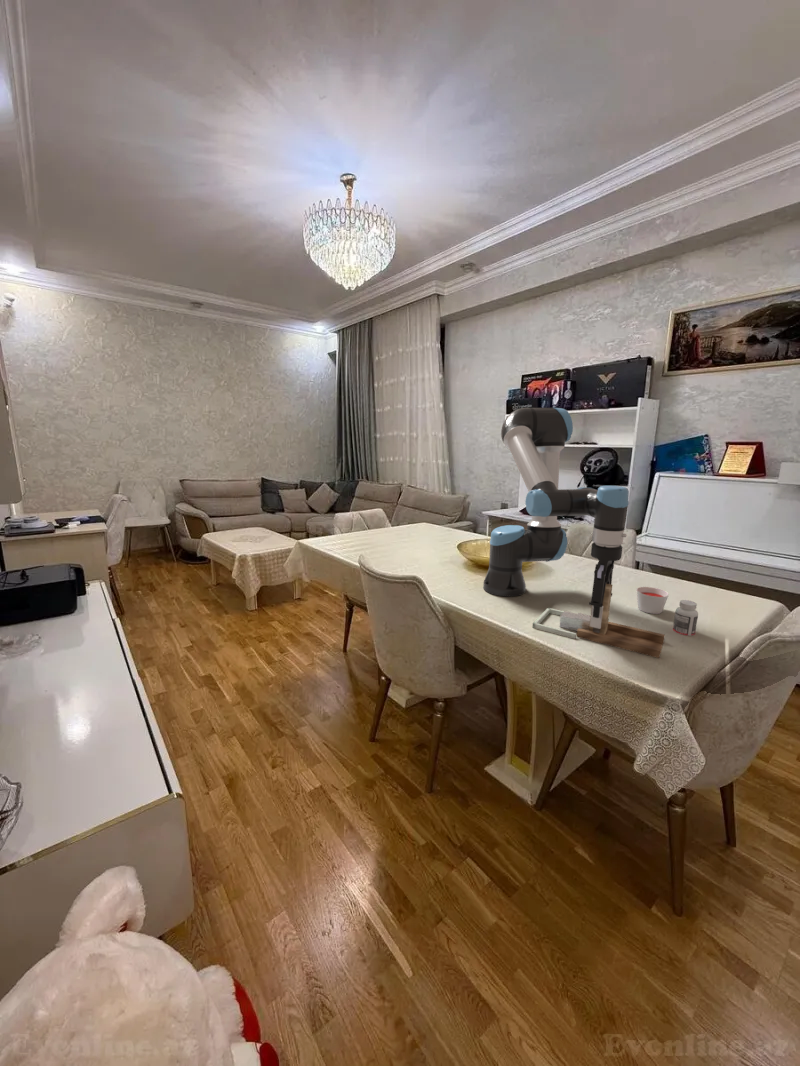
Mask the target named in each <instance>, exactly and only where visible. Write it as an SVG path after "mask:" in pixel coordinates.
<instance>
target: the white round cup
mask: <svg viewBox="0 0 800 1066" xmlns="http://www.w3.org/2000/svg"><path fill="white" fill-rule="evenodd" d="M669 595H670V594H669V592H668V591H666V590H664V589H661V588H659V587H658V588H657V587H651V586H639V587H637V588H636V600H637V608H638V610H640V611H641V612H644V613H647V614H650V615H659V614H662V613H663V610H664V608H665V606H666V603H667V600H668V598H669Z"/></svg>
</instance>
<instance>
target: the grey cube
mask: <svg viewBox="0 0 800 1066" xmlns="http://www.w3.org/2000/svg"><path fill="white" fill-rule="evenodd" d="M563 611H564V612H563V613H562V614H561V616H560V615H559V616H560V617H559V618H560V619H559V628H560V629H565V630H568V631H569V630H570V631H574V623H575V617H576V616H577V614H578V613H575V612H571V611H567V610H563Z"/></svg>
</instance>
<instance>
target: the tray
mask: <svg viewBox="0 0 800 1066" xmlns="http://www.w3.org/2000/svg"><path fill="white" fill-rule="evenodd" d="M564 611H565V610H559V609H556V608H552V607H547V608H546V609H545V610H544V611H543V612H542V613H541V614H540V615H539V616H538V617H536V618H537V619H535V621H534V622H533V623H532V626H531V627H532V628H533V629H536V630H541V631H544V632H547V633H552V634H556V635H559V636H562V637H566V638H567V637H568V638H570V639H575V640H576V638H577V632H572V631H569V630H566V629H565V630H564V629H562V628H557V627H553V626H549V625H545V624H541V623H542V622H543V620H544V619H545V618H546V617H547V616H548V615H549V614H551V615H556V616H561V614H562V613H563V612H564Z"/></svg>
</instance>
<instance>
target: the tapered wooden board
mask: <svg viewBox="0 0 800 1066" xmlns="http://www.w3.org/2000/svg"><path fill="white" fill-rule="evenodd" d="M612 590H613V584H606V588H605V593H604V599H603V614H602V622H601V629H598V628H594V627H590V626H589V631H592V632H596V633H600V634H604V635H605V634H606V632H607V627H608V622H609V618H610V610H611V609H610V608H611V600H612V597H611V593H612ZM612 594H613V593H612ZM590 608H591V609H590V611H591V610H592V606H591V607H590ZM590 619H591V617H590Z"/></svg>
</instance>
